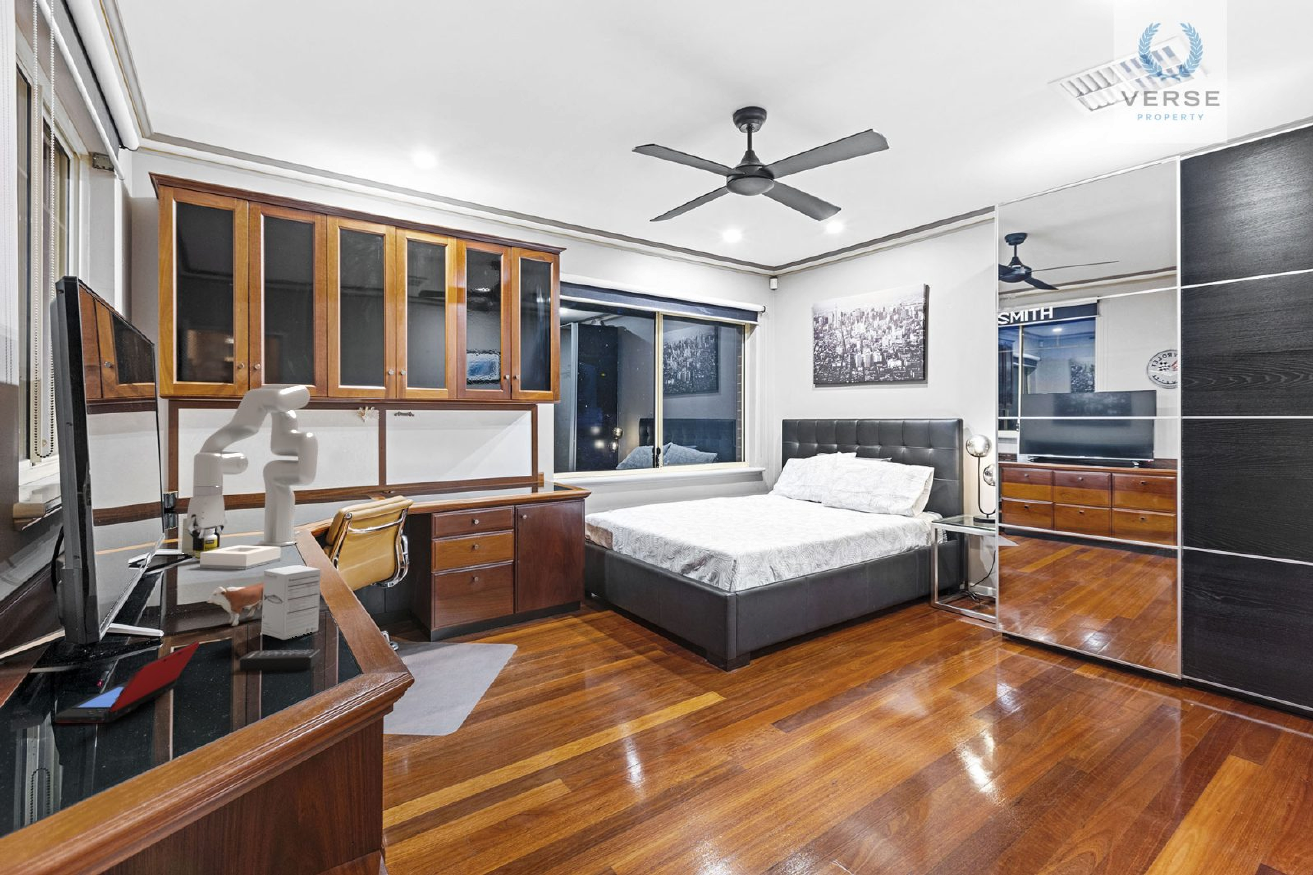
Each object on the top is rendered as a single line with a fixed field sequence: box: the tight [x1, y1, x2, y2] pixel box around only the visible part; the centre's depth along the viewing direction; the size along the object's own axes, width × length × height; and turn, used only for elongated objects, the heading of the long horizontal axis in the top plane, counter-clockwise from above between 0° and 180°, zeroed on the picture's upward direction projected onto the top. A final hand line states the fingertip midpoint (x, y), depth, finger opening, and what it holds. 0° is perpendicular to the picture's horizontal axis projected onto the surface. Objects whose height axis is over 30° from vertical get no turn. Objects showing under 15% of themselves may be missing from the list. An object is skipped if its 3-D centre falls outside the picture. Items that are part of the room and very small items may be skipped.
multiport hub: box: [238, 648, 321, 672], centre depth 101 cm, size 4×11×2 cm, turn 99°
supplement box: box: [260, 564, 322, 641], centre depth 119 cm, size 7×7×13 cm
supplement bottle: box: [194, 528, 218, 562], centre depth 190 cm, size 5×5×10 cm
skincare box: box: [181, 517, 199, 556], centre depth 202 cm, size 6×4×12 cm
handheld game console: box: [54, 640, 200, 724], centre depth 85 cm, size 12×11×7 cm
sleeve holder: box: [199, 544, 282, 570], centre depth 186 cm, size 15×15×4 cm
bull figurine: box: [206, 581, 264, 627], centre depth 126 cm, size 4×13×8 cm, turn 163°
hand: (206, 548), depth 190 cm, fingers closed on supplement bottle, 5 cm apart
